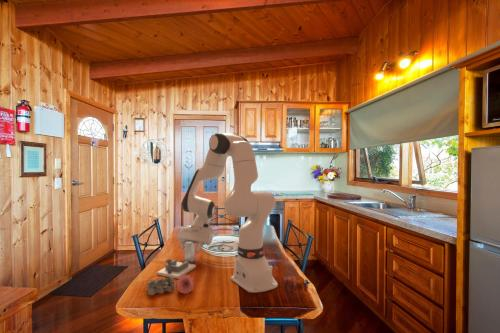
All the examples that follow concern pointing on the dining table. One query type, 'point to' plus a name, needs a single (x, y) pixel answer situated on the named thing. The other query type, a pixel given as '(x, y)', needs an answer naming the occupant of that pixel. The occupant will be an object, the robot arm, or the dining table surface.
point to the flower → (185, 284)
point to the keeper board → (175, 268)
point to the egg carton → (155, 285)
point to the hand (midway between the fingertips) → (189, 249)
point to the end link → (189, 251)
